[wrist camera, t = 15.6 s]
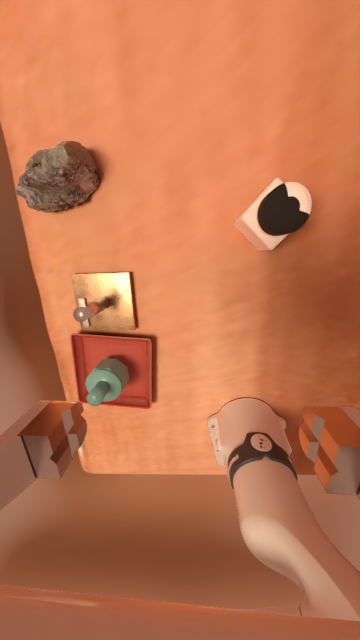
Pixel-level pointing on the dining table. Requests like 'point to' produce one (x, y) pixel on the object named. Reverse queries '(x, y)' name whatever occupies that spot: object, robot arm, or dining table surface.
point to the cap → (106, 381)
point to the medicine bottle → (275, 214)
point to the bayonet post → (104, 301)
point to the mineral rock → (58, 177)
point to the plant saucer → (128, 352)
